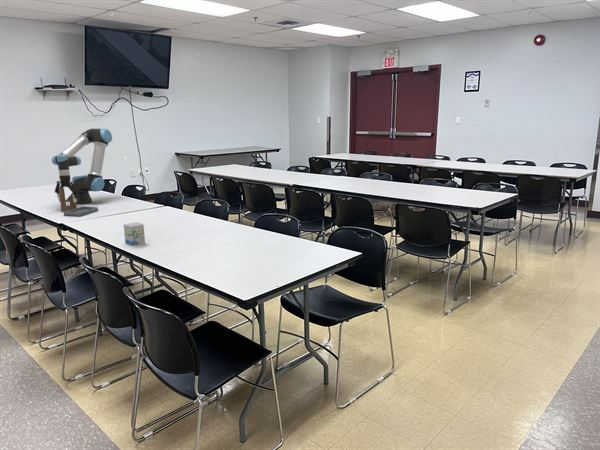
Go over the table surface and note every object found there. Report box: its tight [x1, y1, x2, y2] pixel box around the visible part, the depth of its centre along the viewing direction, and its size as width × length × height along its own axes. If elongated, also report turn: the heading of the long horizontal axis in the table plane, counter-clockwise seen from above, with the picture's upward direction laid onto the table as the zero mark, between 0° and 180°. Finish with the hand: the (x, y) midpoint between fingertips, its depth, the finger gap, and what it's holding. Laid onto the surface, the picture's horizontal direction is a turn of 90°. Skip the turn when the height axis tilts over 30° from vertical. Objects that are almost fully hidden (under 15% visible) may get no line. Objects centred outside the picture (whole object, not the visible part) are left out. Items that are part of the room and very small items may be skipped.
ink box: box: [123, 221, 146, 246], centre depth 272 cm, size 8×8×12 cm
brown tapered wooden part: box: [59, 187, 77, 213], centre depth 360 cm, size 4×11×18 cm, turn 131°
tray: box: [63, 206, 99, 218], centre depth 352 cm, size 21×14×3 cm, turn 167°
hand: (67, 202), depth 361 cm, fingers open, 13 cm apart
